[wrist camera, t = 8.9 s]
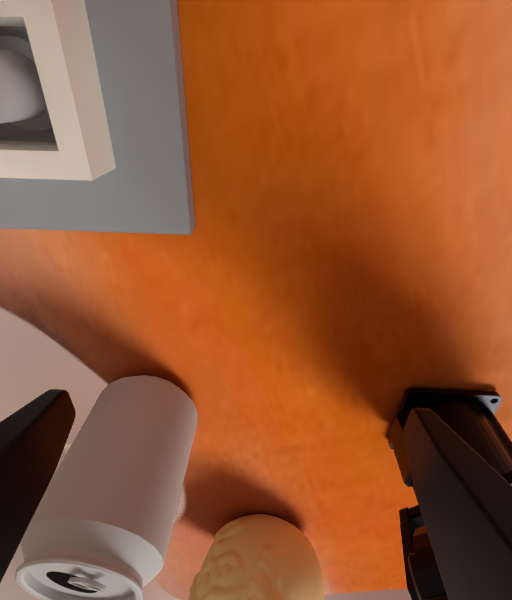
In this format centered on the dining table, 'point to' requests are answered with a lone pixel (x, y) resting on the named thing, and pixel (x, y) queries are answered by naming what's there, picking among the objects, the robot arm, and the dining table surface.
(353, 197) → the dining table surface
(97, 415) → the can
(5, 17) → the white square frame
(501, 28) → the dining table surface
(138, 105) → the post stand
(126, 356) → the dining table surface
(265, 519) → the sculpture
